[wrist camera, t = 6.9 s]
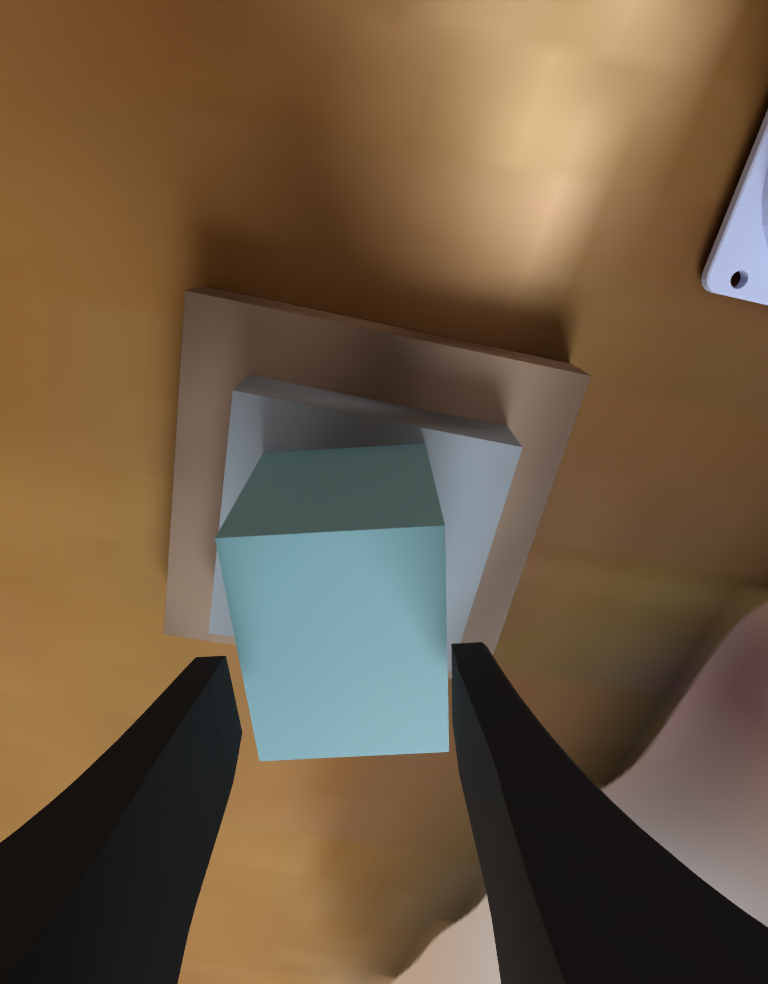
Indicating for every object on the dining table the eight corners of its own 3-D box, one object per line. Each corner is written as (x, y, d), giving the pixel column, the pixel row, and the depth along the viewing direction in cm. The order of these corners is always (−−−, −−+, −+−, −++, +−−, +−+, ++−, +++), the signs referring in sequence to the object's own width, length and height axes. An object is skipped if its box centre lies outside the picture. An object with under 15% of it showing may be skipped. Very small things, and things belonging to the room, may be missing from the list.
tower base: (570, 363, 19) (616, 391, 15) (474, 649, 23) (492, 724, 20) (205, 285, 18) (159, 296, 14) (181, 602, 22) (142, 671, 19)
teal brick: (425, 443, 16) (444, 525, 11) (430, 622, 18) (449, 751, 13) (263, 452, 16) (214, 538, 11) (289, 630, 18) (259, 761, 13)
